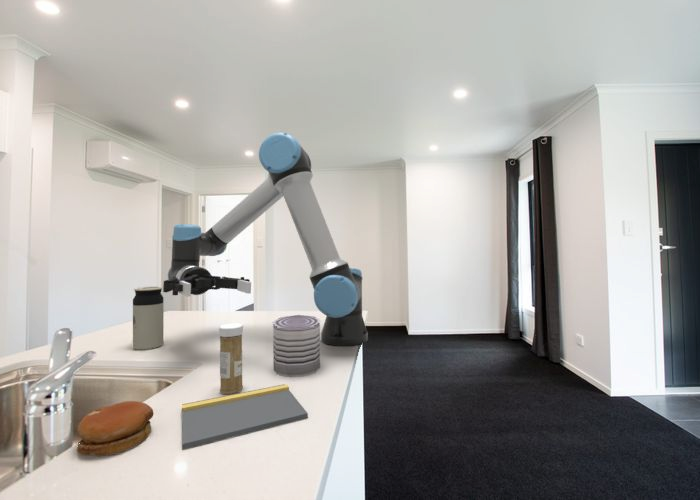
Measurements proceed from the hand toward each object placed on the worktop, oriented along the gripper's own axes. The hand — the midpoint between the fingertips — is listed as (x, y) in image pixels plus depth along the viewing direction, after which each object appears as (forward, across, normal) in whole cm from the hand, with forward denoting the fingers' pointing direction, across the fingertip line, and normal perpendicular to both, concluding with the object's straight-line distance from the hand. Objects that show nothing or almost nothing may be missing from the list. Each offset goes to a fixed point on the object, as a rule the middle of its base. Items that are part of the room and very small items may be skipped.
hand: (221, 289), depth 74 cm
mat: (+20, +2, -19) cm, 28 cm away
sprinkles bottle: (+9, 0, -20) cm, 22 cm away
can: (+7, -17, -20) cm, 27 cm away
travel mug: (-40, +7, -22) cm, 46 cm away
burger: (+15, +20, -21) cm, 33 cm away
